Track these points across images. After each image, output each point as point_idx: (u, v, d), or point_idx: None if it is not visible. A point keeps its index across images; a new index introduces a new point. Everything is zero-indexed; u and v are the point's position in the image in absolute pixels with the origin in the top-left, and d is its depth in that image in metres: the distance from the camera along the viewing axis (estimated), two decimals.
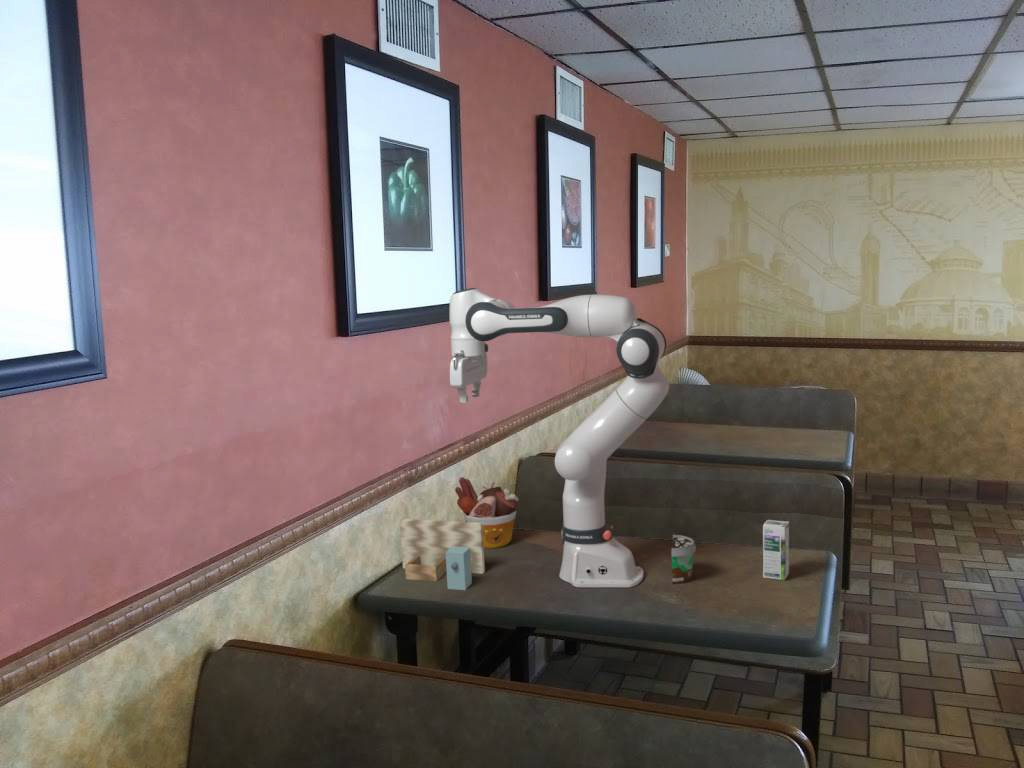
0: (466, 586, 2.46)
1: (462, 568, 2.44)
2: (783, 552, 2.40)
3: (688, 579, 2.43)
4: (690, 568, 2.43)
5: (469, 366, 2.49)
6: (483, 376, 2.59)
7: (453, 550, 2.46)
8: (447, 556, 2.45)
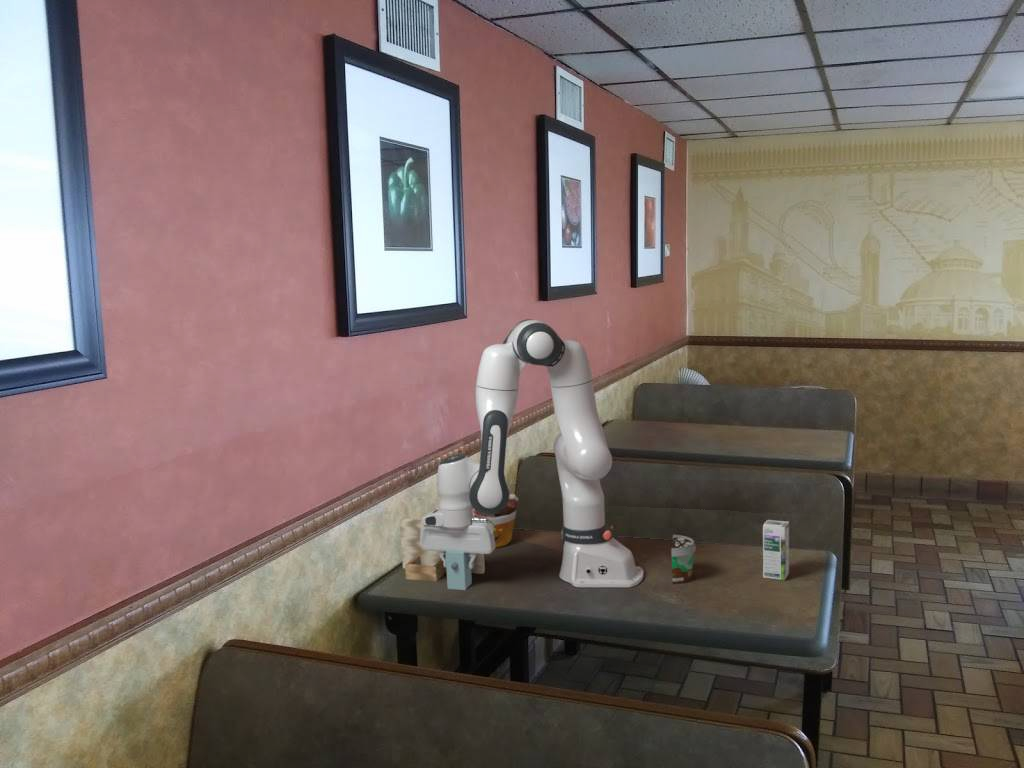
0: (466, 586, 2.45)
1: (462, 568, 2.44)
2: (783, 552, 2.40)
3: (688, 579, 2.43)
4: (690, 568, 2.43)
5: None
6: None
7: None
8: (447, 556, 2.45)
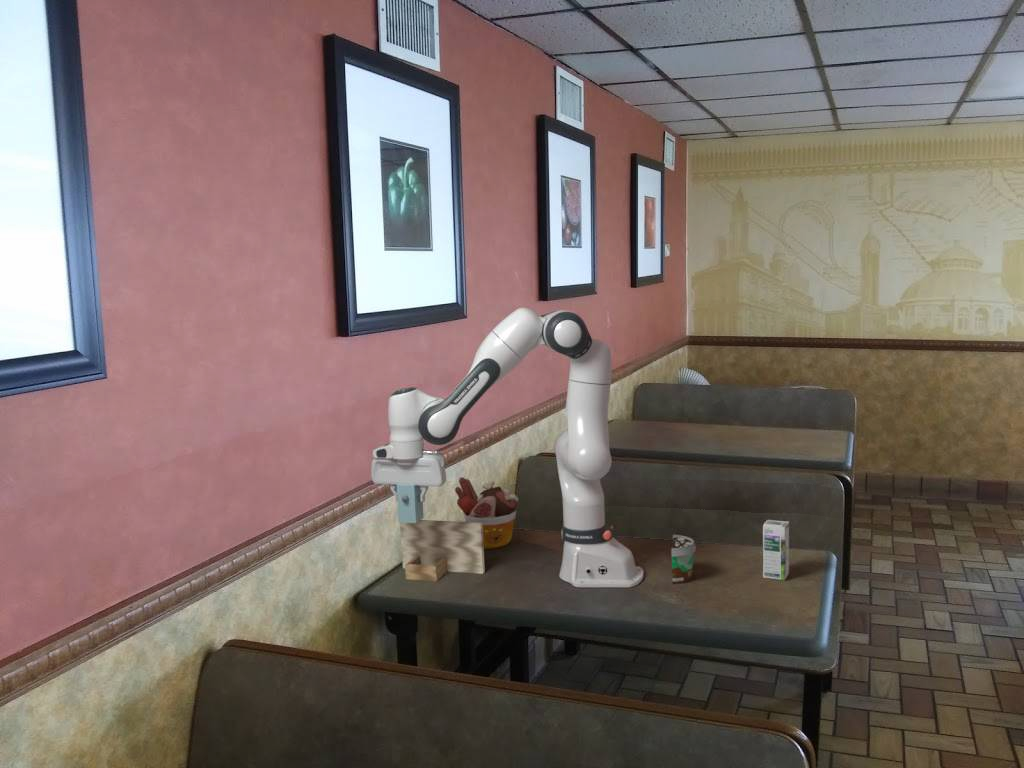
0: (417, 519, 2.45)
1: (413, 501, 2.43)
2: (783, 552, 2.40)
3: (688, 579, 2.43)
4: (690, 568, 2.43)
5: None
6: None
7: None
8: (398, 489, 2.44)
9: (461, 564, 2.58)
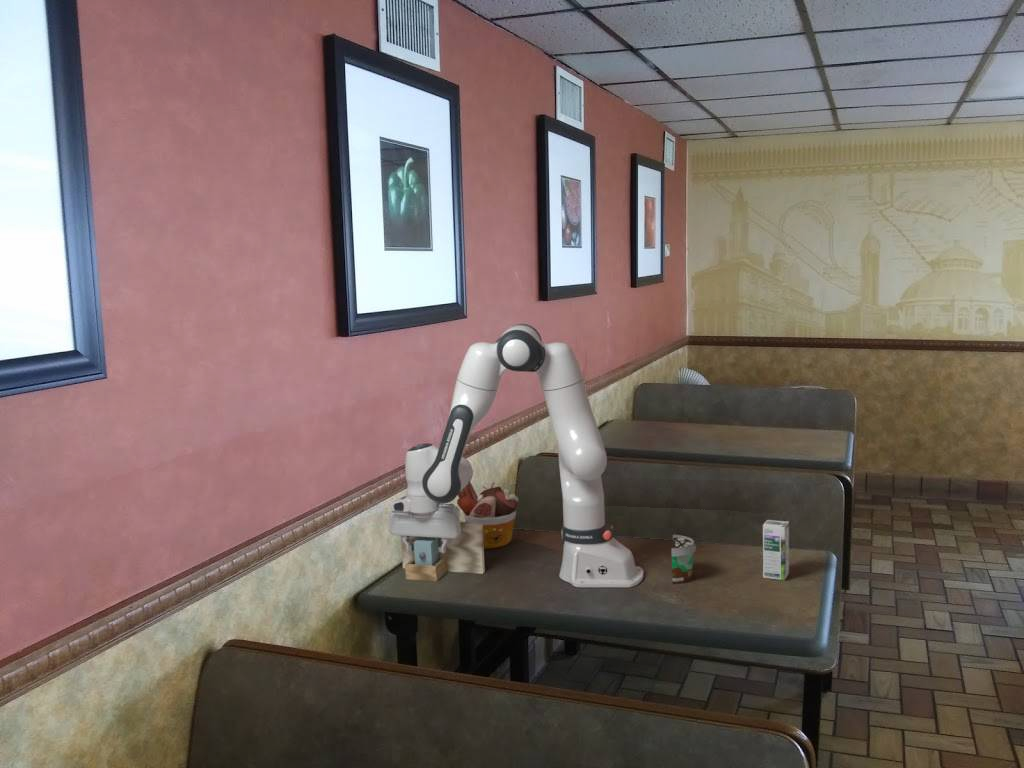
0: None
1: (429, 557, 2.54)
2: (783, 552, 2.40)
3: (688, 579, 2.43)
4: (690, 568, 2.43)
5: None
6: None
7: (421, 540, 2.56)
8: (415, 546, 2.55)
9: (461, 564, 2.58)
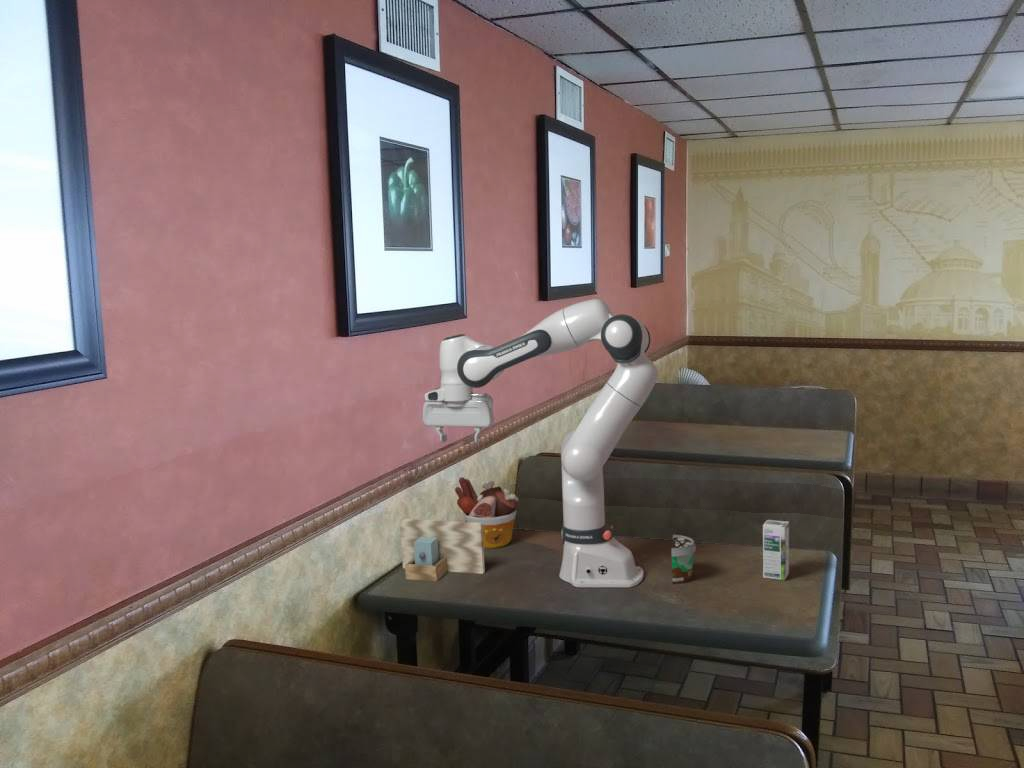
0: None
1: (429, 557, 2.54)
2: (783, 552, 2.40)
3: (688, 579, 2.43)
4: (690, 568, 2.43)
5: None
6: None
7: (421, 540, 2.56)
8: (415, 546, 2.55)
9: (461, 564, 2.58)
